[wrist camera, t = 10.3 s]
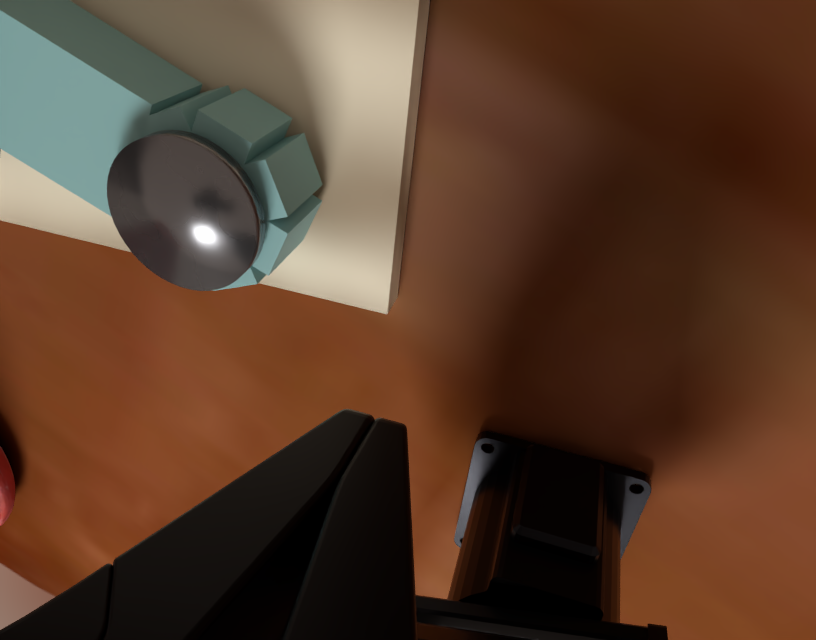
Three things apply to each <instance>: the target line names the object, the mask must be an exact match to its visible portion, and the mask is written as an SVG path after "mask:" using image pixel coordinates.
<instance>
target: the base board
mask: <svg viewBox="0 0 816 640" xmlns="http://www.w3.org/2000/svg"><path fill="white" fill-rule="evenodd" d="M70 1H72V2H73V3H75V4H76V5H78V6H80V7H81V8H83V9H84V10H86V11H88V12H89V13H91V14H92V15H94V16H96V17H97V18H99V19H100V20H102V21H103V22H105V23H107V24H108V25H110V26H111V27H113V28H115V29H116V30H118V31H119V32H121V33H123V34H124V35H126V36H127V37H129V38H131V39H132V40H134V41H135V42H137V43H139V44H140V45H142V46H143V47H145V48H146V49H148V50H150V51H151V52H153V53H154V54H156V55H158V56H159V57H161V58H162V59H164V60H166V61H167V62H169V63H170V64H172V65H174V66H175V67H177V68H178V69H180V70H181V71H183V72H185V73H186V74H188V75H189V76H191V77H193V78H194V79H196V80H197V81H199V82H201V83H202V88H201V91H200V93H203V92H207V91H210V90H213V89H217V88H220V87H224V86H227V85H228V86H229V88H230V91H231V93H232V94H233V93H235V92H237V91H239V90H241V89H243V88H245V89H247V90H249V91H250V92H252V93H253V94H255V95H257V96H258V97H260V98H261V99H263V100H264V101H266V102H268V103H269V104H271V105H272V106H274V107H276V108H277V109H279V110H280V111H282V112H283V113H285V114H287V115H288V116H290V117H291V118H292V120H291V123H290V125H289V128H288V130H287V133H286V135H285V137H289V136H293V135H297V134H301V133H304V134H305V137H306V140H307V142H308V145H309V148H310V151H311V153H312V156H313V159H314V162H315V165H316V167H317V170H318V173H319V176H320V179H321V181H322V184H323V185H322V186H321V187H320V188H319V189H318V190H317V191H315V192H314V193H313V194H312V195H314V196H316V197H317V198H319V199H320V200H322V203H321V205H320V207H319V209H318V211H317V213H316V215H315V217H314V219H313V221H312V223H311V225H310V228H309V230H308V232H307V234H306V236H305V238H304V240H303V241H302V242H301V243H300V244H299V245H298V246H297V247H296V248H295V249H294V250H293V251H292V252H291V253H290V254H289V255H288V256H287V257H286V259H285V260H284V261H283V262H282V263H281V264H280V265H279V266H278V267H277V268H276V269H275V270H274V271H273V272H272V273H271V274H270V275H269V276H268V275H266V276H265V277H264V278H263V279H262V280H261V281H260V282H259V283H261V284H265V285H269V286H273V287H277V288H281V289H285V290H290V291H294V292H298V293H302V294H306V295H310V296H314V297H318V298H322V299H327V300H331V301H335V302H339V303H343V304H347V305H351V306H355V307H359V308H364V309H368V310H372V311H376V312H380V313H384V314H388V312H389V311H390V309H391V307H392V306H393V304H394V302H395V300H396V299H397V297H398V288H399V279H400V270H401V261H402V252H403V243H404V233H405V224H406V215H407V206H408V197H409V188H410V179H411V170H412V161H413V151H414V142H415V133H416V124H417V115H418V106H419V97H420V88H421V78H422V69H423V60H424V51H425V42H426V33H427V24H428V15H429V6H430V0H70ZM0 220H2V221H6V222H10V223H14V224H18V225H22V226H27V227H31V228H35V229H39V230H43V231H47V232H51V233H55V234H59V235H64V236H68V237H72V238H76V239H80V240H84V241H88V242H92V243H96V244H101V245H105V246H109V247H113V248H117V249H121V250H125V251H129V252H131V251H130V249H129V248H128V247H127V245H126V244H125V242H124V241H123V239H122V238H121V236H120V234H119V232H118V230H117V228H116V226H115V224H114V222H113V219H112V217H111V216H110V215H108V214H106V213H105V212H103V211H101V210H100V209H98V208H96V207H95V206H93V205H92V204H90V203H88V202H87V201H85V200H83V199H82V198H80V197H79V196H77V195H75V194H74V193H72V192H70V191H69V190H67V189H65V188H64V187H62V186H61V185H59V184H57V183H56V182H54V181H52V180H51V179H49V178H48V177H46V176H44V175H43V174H41V173H39V172H38V171H36V170H34V169H33V168H31V167H30V166H28V165H26V164H25V163H23V162H21V161H20V160H18V159H16V158H15V157H13V156H12V155H10V154H8V153H7V152H5V151H3V150H2V149H1V152H0Z"/></svg>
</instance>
